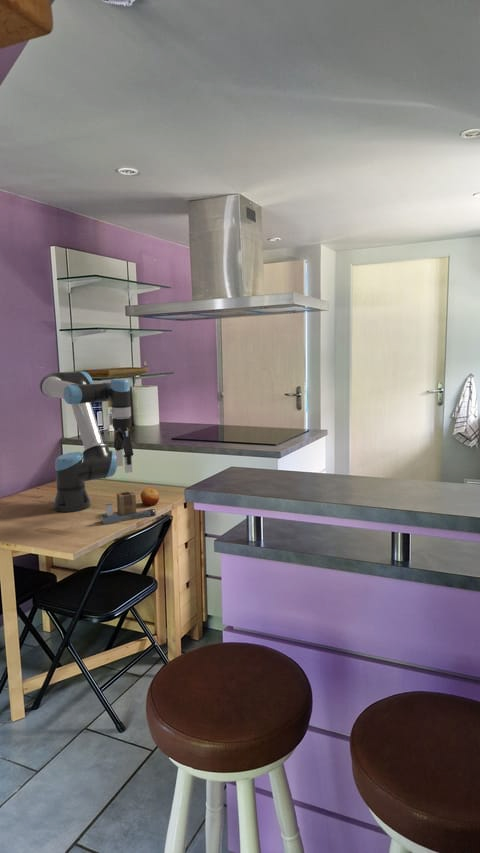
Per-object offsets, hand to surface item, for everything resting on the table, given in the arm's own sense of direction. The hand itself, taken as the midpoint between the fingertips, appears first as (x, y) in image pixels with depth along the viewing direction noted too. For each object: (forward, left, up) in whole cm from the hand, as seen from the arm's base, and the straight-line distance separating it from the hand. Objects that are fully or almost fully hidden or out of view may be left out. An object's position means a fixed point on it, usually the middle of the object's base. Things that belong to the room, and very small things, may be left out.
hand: (124, 469), depth 220 cm
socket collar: (-2, +1, -19) cm, 19 cm away
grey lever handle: (+7, -1, -19) cm, 20 cm away
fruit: (-9, +13, -19) cm, 25 cm away
